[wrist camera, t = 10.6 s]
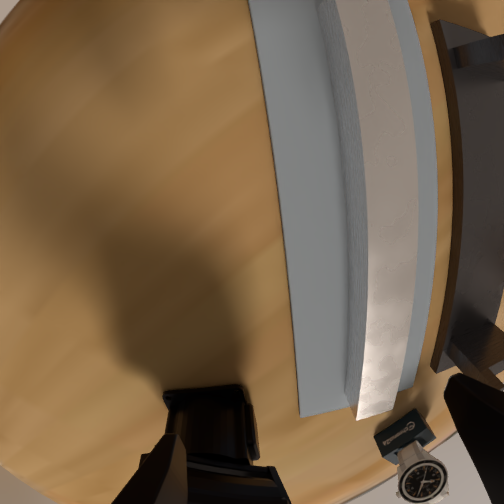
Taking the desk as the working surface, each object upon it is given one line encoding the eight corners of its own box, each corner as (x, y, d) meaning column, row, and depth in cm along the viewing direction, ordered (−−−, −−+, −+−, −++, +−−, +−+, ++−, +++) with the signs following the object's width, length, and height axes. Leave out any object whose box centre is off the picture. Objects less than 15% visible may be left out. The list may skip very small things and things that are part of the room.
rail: (344, 393, 23) (355, 420, 20) (316, 10, 13) (331, -12, 10) (378, 384, 23) (392, 409, 20) (363, 14, 13) (386, -5, 10)
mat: (299, 413, 24) (300, 417, 23) (246, -9, 13) (246, -13, 12) (410, 383, 24) (412, 386, 23) (403, 2, 13) (407, -1, 13)
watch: (409, 401, 25) (455, 480, 15) (429, 424, 27) (466, 488, 17) (365, 432, 26) (399, 514, 16) (391, 450, 28) (421, 516, 18)
